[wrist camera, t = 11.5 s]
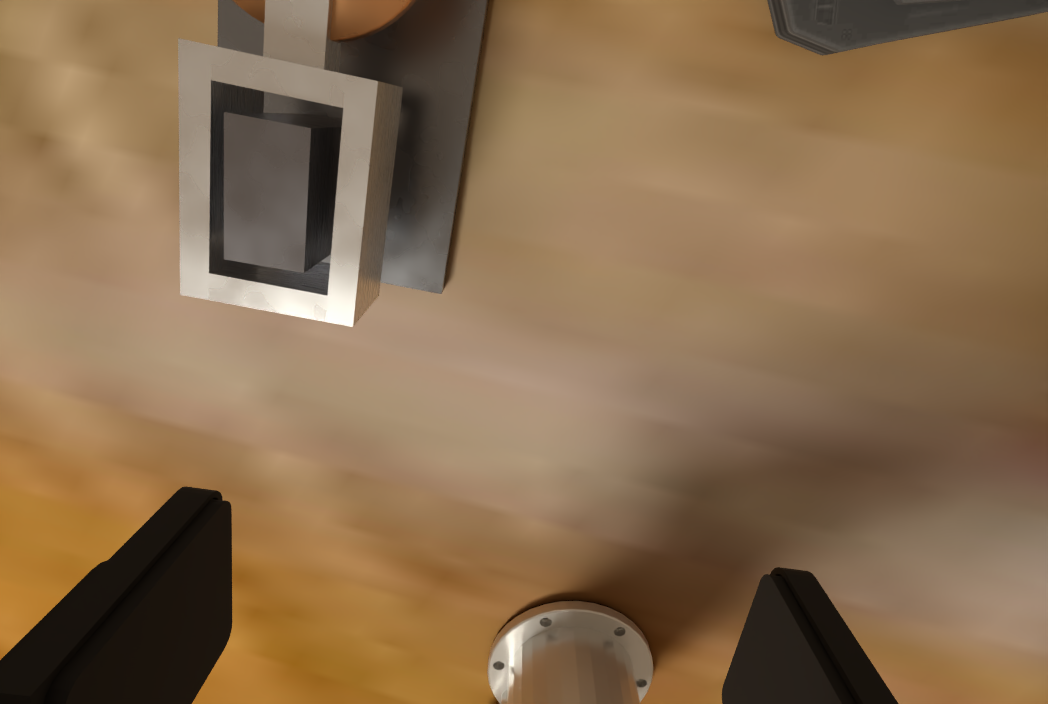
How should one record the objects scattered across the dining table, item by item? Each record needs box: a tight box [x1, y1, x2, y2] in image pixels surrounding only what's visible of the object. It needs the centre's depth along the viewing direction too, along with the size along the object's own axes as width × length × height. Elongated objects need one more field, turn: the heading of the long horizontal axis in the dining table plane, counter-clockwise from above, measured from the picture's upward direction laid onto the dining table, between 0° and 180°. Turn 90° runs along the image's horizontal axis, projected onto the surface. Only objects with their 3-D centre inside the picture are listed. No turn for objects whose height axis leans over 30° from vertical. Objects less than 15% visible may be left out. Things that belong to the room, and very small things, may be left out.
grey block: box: [224, 112, 342, 273], centre depth 28 cm, size 6×3×10 cm, turn 170°
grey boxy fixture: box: [178, 0, 489, 327], centre depth 25 cm, size 22×13×15 cm, turn 169°
